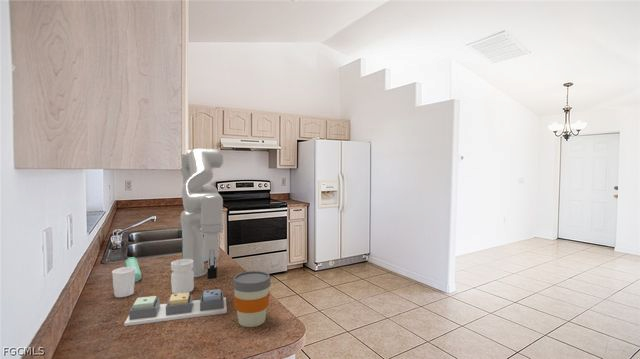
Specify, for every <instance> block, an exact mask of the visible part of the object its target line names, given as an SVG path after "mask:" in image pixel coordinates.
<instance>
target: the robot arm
mask: <svg viewBox="0 0 640 359" xmlns="http://www.w3.org/2000/svg"><path fill="white" fill-rule="evenodd" d="M223 164H224V155H223V153H222V151H221V150H220V149H219V148H205V147H204V148H200V147H199V148H193V149H188V153H187V154H186V155H183V158H182V168H181V169H180V168H179V169H180V173H181V175H182V183H183V184H182V188H181V196H182V205H183V209H184V210H183V211H181V213H180V217H179V219H180V226H181V231H182V232H181V233H182V234H181V238H182V237H183V259H191V260H193V268H192V269H191V270H192V271H193V272H194V278H199V277H202V276H205V275H207V280H213V279H217V278H218V266H217V262H218V261H219V254H220V234H221V233H223V225H224V224H223V221H224V218H223V216H224V215H223V206H224V200H223V196H222V195H221V194H220V193H219V190H218V188H217V187H216V186H214V185H206V184H209V183H210V182H211V181H212V180H213V177H214V173H213V170H212V169H219V168H221V167H222V166H223ZM199 229H200V230H199ZM200 231H201V232H200ZM202 234H204V237H203V235H202ZM207 260H208V262H206V261H207ZM205 263H207V268H206V267H205Z"/></svg>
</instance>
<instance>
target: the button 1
mask: <svg viewBox="0 0 640 359" xmlns="http://www.w3.org/2000/svg"><path fill="white" fill-rule="evenodd" d="M156 299H157V295H151V296H142V297H136V300H135V301H134V302H135V303H134V302H133V304H134V305H133V304H132V306H133V310H136V309H144V308H153V307H155V305H156Z"/></svg>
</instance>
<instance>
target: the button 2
mask: <svg viewBox="0 0 640 359" xmlns="http://www.w3.org/2000/svg"><path fill="white" fill-rule="evenodd" d="M189 295H190V292H188V293H178V294H174V293H172V294H171V295H170V297H171V298H170V300H169V306H170V305H179V304H188V303H189Z"/></svg>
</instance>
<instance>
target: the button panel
mask: <svg viewBox="0 0 640 359" xmlns="http://www.w3.org/2000/svg"><path fill="white" fill-rule="evenodd" d="M170 298H171V296H170V297H168V299H167V303H161V298H156V305H155V307H153V308H144V309H136V310H133V305H134V303H135V301H133V304H132V306H131V307H130V309H129V313H128V316H127V317H126V320H125V321H124V323H123V326H124V327H128V326H136V325H144V324H151V323H159V322H166V321H175V320H176V321H177V320H182V319H191V318H198V317H206V316H213V315H223V314H227V313H228V310H227V296H224V291H221V300H214V301H205V302H203V293H201V294H200V299H197V300H196V299H195V300H193V294H189V303H188V304H179V305H170V306H169V300H170Z"/></svg>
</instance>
